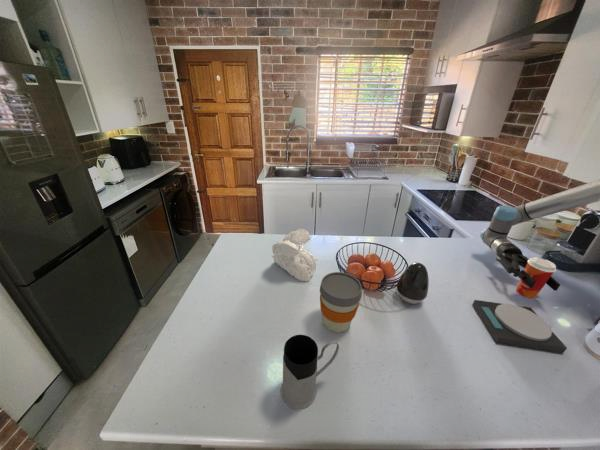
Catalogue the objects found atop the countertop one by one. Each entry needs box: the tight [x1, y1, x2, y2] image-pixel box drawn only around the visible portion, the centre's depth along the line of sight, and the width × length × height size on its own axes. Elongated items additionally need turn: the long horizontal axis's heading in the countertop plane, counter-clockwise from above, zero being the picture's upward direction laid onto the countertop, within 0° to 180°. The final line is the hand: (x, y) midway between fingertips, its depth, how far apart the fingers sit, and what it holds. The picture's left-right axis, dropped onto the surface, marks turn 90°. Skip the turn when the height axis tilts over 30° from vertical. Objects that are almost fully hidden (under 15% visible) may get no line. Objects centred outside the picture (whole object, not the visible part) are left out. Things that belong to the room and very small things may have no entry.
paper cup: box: [515, 256, 557, 300], centre depth 89 cm, size 8×8×14 cm
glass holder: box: [280, 334, 340, 411], centre depth 58 cm, size 9×14×15 cm, turn 112°
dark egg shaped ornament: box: [396, 262, 430, 305], centre depth 87 cm, size 10×10×15 cm
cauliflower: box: [271, 228, 318, 282], centre depth 102 cm, size 19×20×20 cm
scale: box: [472, 299, 568, 354], centre depth 80 cm, size 18×16×4 cm
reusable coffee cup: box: [319, 271, 363, 333], centre depth 77 cm, size 13×13×15 cm
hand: (544, 286), depth 84 cm, fingers closed on paper cup, 7 cm apart
